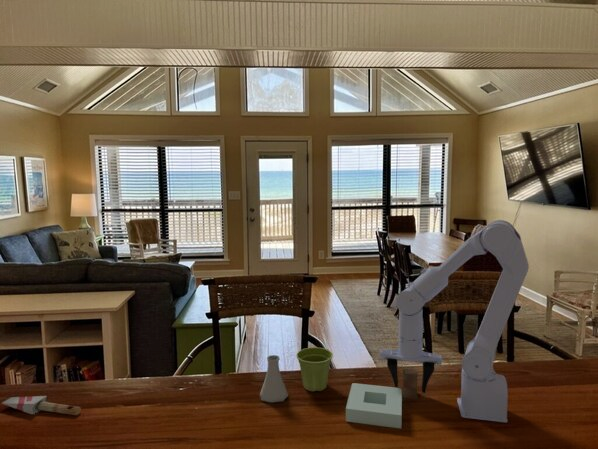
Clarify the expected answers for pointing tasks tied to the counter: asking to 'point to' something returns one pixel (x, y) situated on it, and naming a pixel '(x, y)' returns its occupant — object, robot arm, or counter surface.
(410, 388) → the walnut peg
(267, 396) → the flask
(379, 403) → the socket block
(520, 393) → the counter surface
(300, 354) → the plant pot
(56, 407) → the grey and wooden tool
